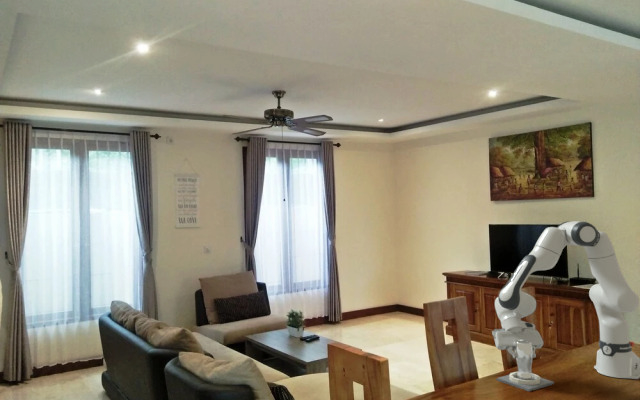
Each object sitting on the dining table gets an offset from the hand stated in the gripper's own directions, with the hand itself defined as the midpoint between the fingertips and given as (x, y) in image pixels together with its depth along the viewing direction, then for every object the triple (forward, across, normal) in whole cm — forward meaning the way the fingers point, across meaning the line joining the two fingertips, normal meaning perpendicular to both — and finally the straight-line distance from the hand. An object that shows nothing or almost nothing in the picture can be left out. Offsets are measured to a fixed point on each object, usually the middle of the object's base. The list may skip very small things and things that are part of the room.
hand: (524, 357), depth 208 cm
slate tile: (+7, 0, +8) cm, 11 cm away
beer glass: (+6, 0, +7) cm, 9 cm away
